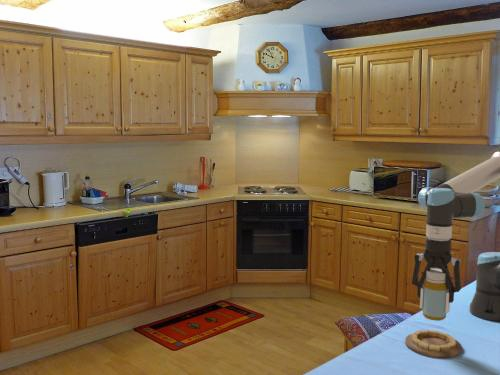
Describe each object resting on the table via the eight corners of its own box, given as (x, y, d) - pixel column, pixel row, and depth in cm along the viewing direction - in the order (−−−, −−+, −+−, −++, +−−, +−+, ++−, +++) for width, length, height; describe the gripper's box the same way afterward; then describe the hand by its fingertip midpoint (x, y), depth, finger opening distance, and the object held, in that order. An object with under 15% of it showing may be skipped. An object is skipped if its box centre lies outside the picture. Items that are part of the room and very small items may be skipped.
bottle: (447, 322, 162) (450, 274, 160) (423, 320, 164) (426, 273, 162) (444, 314, 169) (446, 268, 167) (421, 312, 171) (423, 267, 169)
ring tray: (441, 332, 178) (441, 325, 178) (473, 354, 162) (473, 347, 161) (395, 337, 174) (395, 330, 174) (423, 360, 158) (424, 352, 157)
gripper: (402, 236, 165) (399, 306, 168) (470, 244, 155) (466, 319, 158) (409, 232, 172) (406, 300, 175) (475, 239, 161) (470, 312, 164)
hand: (434, 309), depth 166 cm, fingers closed on bottle, 7 cm apart
